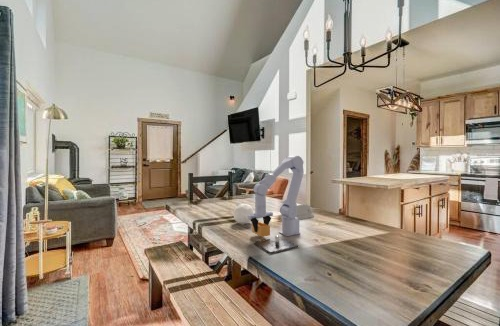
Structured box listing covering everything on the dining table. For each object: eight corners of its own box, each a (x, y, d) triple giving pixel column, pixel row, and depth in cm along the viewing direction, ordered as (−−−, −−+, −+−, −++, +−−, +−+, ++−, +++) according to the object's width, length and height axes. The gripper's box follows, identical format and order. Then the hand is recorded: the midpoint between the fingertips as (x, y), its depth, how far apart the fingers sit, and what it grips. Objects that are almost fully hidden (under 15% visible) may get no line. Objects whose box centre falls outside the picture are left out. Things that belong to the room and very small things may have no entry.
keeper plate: (280, 238, 134) (280, 228, 134) (298, 247, 121) (298, 236, 121) (253, 243, 127) (253, 233, 126) (269, 254, 113) (269, 242, 113)
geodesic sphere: (229, 218, 155) (242, 200, 156) (226, 213, 168) (238, 196, 170) (247, 231, 158) (260, 212, 159) (243, 225, 171) (254, 208, 173)
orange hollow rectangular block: (260, 230, 142) (260, 221, 142) (270, 235, 133) (269, 225, 133) (252, 231, 140) (252, 222, 140) (261, 236, 131) (261, 227, 131)
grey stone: (295, 220, 171) (292, 205, 174) (291, 220, 175) (288, 206, 178) (314, 216, 179) (311, 203, 182) (310, 217, 183) (307, 204, 186)
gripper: (268, 203, 143) (268, 226, 143) (245, 206, 136) (245, 230, 137) (274, 205, 137) (275, 230, 137) (251, 208, 130) (251, 234, 130)
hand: (260, 230), depth 136 cm, fingers closed on orange hollow rectangular block, 5 cm apart
